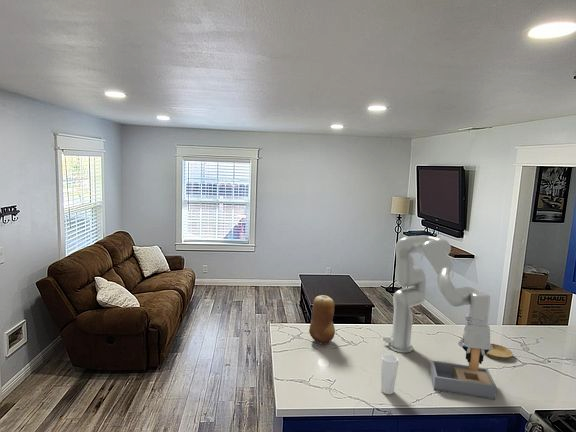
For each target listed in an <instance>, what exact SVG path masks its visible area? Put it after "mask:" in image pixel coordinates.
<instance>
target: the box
mask: <svg viewBox="0 0 576 432" xmlns="http://www.w3.org/2000/svg"><path fill="white" fill-rule="evenodd" d="M429 374H430V378H431V382H432V383H431V384H432V387H433V391H437V392H442V393H443V392H444V393H448V394H449V393H450V394H456V395H461V396H466V397H467V396H468V397H475V398H480V399H486V400H492V401H495V400H496V392H497V386H496V383H495V381H494V379H493V376H492V375H491V373H490V371H489V369H488V368H486V367H480V366H479V369H478V371H473V370H470V369H469V368H468V365H465V364H457V363H452V362H446V361H445V362H444V361H439V360H437V361H436V360H430V368H429Z"/></svg>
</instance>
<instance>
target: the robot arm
mask: <svg viewBox="0 0 576 432" xmlns="http://www.w3.org/2000/svg"><path fill="white" fill-rule="evenodd" d="M394 250H395V252H394V253H395V258H396V259H395V260H396V263H395V264H396V265H395V266H396V268H395V271H396V272H395V273H396V274H395V277H396V278H395V279H396V283H397V285H398V286H399V287H404V288H402V289H398V290H396V291H395V292H394V293H393V296H392V302H393V318H392V333H391V335H390V337H386V336H382V341H384V342H385V343H387V344H388V348H389V349H391V350H392V351H395V352H397V353H403V354H404V353H405V354H406V353H411V352H413V350H414V346H413V345H412V344H411V340H412V339H411V338H412V328H413V312H412V310H411V308H412V307H416V306H420V305H422V304H424V302H425V300H426V287H427V285H426V283H427V281H426V278H427V277H426V274H425V272H424V270H423V269H422V268H421V267H419V266H414V265H415V264H414V258H413V255H412V254H417V253H419V254H420V253H423V255H424V256H425V258H426V260H427V261H428V262H429V264H430V265H431V266H432V268H433V269H434V271H435V272H436V275H437V279H436V280H437V286H438V289H439V292H440V293H441V295H442V297H444V299H445V301H446V302H447V303H448V304H449V305H451V306H453V307H456V308H457V307H462V306H463V307H464V306H466V305H469V310H468V315H467V316H465V317H464V321H466V323H465V326H464V330H463V334H462V335H463V336H462V338H461V339H460V340H459V341H457V343H458V346H460V348H462V349H463V350H464V351H465V360H466V361H467V363H469V362H470V357H471V354H470V350H471V348H475V349H480V359H479V365H482V363H483V362H484V356H485V355H486V353H487V352H488V351H491V350H493V347H492V345H491V344H492V343H491V328H490V325H489V314H490V303H491V296H490V295H489V294H488V293H486V292H482V291H479V290H477V289H475V288H473V287H470V286H464V287H463V286H462V287H458V288H456V287H455V286H454V284H453V283H452V280H451V278H450V275H451V274H450V273H451V272H452V271H453V269H454V268H455V264H454V262H453V261H452V260H451V259H450V257H449V255H450V253H451V250H452V246H451V244H450V243H449V241H448V240H446V239H444V238H439V237H435V236H431V235H425V234H422V235H411V236H410V235H409V236H404V237H402V238H400V239H399V240H397V242H396V244H395V249H394ZM406 287H407V288H406Z"/></svg>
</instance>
